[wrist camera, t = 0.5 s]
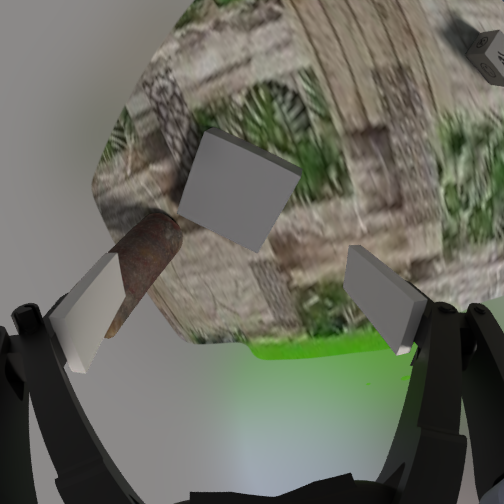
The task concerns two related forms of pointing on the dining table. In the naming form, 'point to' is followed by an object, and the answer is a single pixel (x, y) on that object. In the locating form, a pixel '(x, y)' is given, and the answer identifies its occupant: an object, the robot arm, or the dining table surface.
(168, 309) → the dining table surface
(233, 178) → the stand
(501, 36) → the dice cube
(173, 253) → the candle
